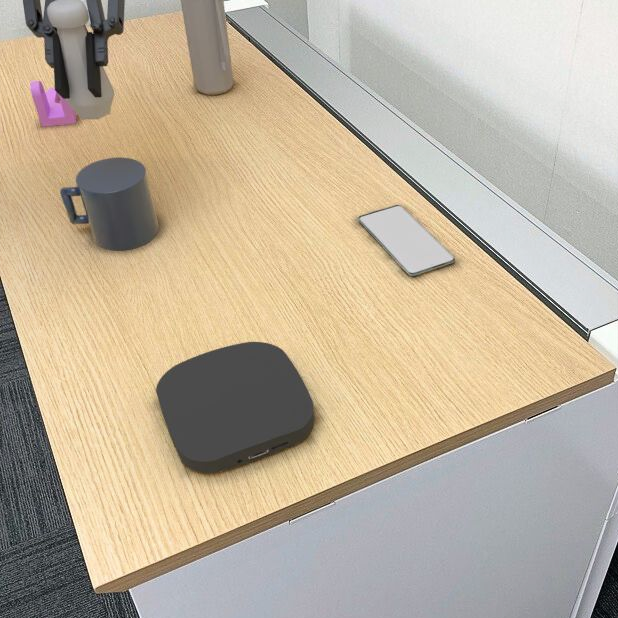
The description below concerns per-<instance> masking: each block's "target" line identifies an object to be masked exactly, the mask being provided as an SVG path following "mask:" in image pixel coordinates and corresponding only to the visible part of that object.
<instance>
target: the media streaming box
mask: <svg viewBox="0 0 618 618" xmlns="http://www.w3.org/2000/svg"><path fill="white" fill-rule="evenodd" d="M155 392H156V396H157V399H158V403H159V407H160V410H161V414H162V416H163V420H164V423H165V426H166V429H167V431H168V434H169V437H170V439H171V441H172V444H173V446H174V448H175V450H176V453H177V456H178V457H179V460H180V462H181V463H182V464H183V465H184V466H185V467H186V468H188V469H189V470H191V471H193V472H196V473H202V474H219V473H222V472H225V471H227V470H230V469H234V468H236V467H241V466H243V465H246V464H249V463H252V462H254V461H257V460H260V459H262V458H265V457H268V456H270V455H273V454H275V453H278V452H281V451H283V450H285V449H288V448H291V447H292V446H295V445H298V444H299V443H301V442H303V441H304V440H306V438H307V437H308V436H309V435H310V433H311V432H312V430H313V428H314V425H315V411H314V402H313V398H312V397H311V394H310V391H309V390H308V388H307V386H306V384H305V382H304V380H303V378H302V376H301V374H300V373H299V371H298V370H297V368H296V366H295V364H294V363H293V362H292V360H291V359H290V357H289V356H288V355H287V353H286V352H285V351H284V350H283V349H282V348H281V347H279V346H278V345H275V344H272V343H268V342H264V341H246V342H241V343H240V342H239V343H236V344H230V345H227V346H223V347H219V348H215V349H213V350H209V351H207V352H204V353H201V354H198V355H196V356H193V357H191V358H187V359H186V360H184V361H181V362H179V363H177V364H175V365H174V366H172V367H171V368H169V369H168V370H167V371H166V372H165V373H163V375H162V376H161V377H160V379H159V380H158V382H157V384H156V387H155Z"/></svg>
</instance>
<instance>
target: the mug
mask: <svg viewBox="0 0 618 618" xmlns="http://www.w3.org/2000/svg"><path fill="white" fill-rule="evenodd" d="M75 183H76V186H66V187H62V188H61V189H60V191H59V192H60V196H61V199H62V202H63V206H64V208H65V212H66V215H67V217H68V221H69V223H70V224H72V225H87V224H88V225H89V229H90V232H91V235H92V238H93V241H94V242H95V244H97V245H98V247H100V248H103V249H105V250H109V251H128V250H133V249H136V248H140V247H142V246H144V245H146V244H149V242H151V241H152V240H153V239H155V237H156V236H157V235H158V232H159V231H160V230H159V228H160V226H159V221H158V217H157V216H158V215H157V212H156V207H155V204H154V199H153V194H152V190H151V185H150V182H149V178H148V174H147V168H146V167H145V165H144V164H143V163H142V162H141V161H139V160H137V159H134V158H129V157H119V156H118V157H107V158H103V159H99V160H97V161H96V160H95V161H94V162H92V163H89V164H87V165H86V166H84V167H83V168H81V169H80V170H79V171H78V173H77V174H76V177H75ZM73 197H80V200H81V203H82V207H83V209H84V213H85V214H78V213H77V210H76V207H75V204H74V200H73Z"/></svg>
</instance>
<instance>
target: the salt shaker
mask: <svg viewBox="0 0 618 618" xmlns="http://www.w3.org/2000/svg"><path fill="white" fill-rule="evenodd" d="M47 15H48V18H49V21H50V22H51V24H52V26H53V27H56V28H57V33H58V35H59V39H60V44H61V50H62V55H63V60H64V65H65V70H66V75H67V80H68V84H69V92H70V99H66V101H67V103H68V105H69V106H70V107H71V108H72V109H73V110H74V111H75V112H76V114H77V116H78V117H79V118H81V119H82V120H85V121H87V120H89V121H90V120H101V119H103V118H104V117H106V116H108V115H110V114H111V109H112V105H113V101H114V98H115V90H114V88H113V85H112V83H111V81H110V79H109V76H108V74H107V72H106V70H105V66H100V73H101V94H102V97H94V96H93V94H92V93H91V92H90V91H89V90H88V83H87V62H86V41H85V37H86V35H87V33H86V32H89V30H88V28H87V26H86V24H88V22H89V21H90V17H89V12H88V8H87V5H86V4H85V2H84V1H82V0H55V1H53V2H51V3H50V5H49V6H48V8H47Z"/></svg>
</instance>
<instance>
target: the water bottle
mask: <svg viewBox="0 0 618 618" xmlns="http://www.w3.org/2000/svg"><path fill="white" fill-rule="evenodd" d="M180 6H181V11H182V17H183V24H184V30H185V35H186V42H187V47H188V55H189V60H190V68H191V73H192V78H193V84H194V87H195V88H196V90H197V91H198V92H199V93H201V94H204V95H208V96H209V95H210V96H212V95H213V96H214V95H216V96H217V95H220V94H225V93H226V92H228V91H229V90H231V89H232V88H233V85H234V83H235V82H234V75H233V66H232V65H233V64H232V58H231V57H232V56H231V50H230V42H229V34H228V26H227V25H228V24H227V17H226V9H225V1H224V0H180Z"/></svg>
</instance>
